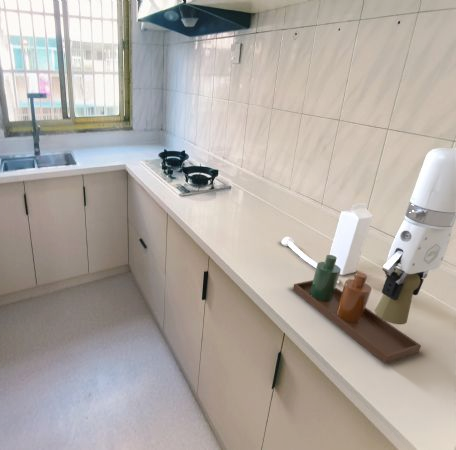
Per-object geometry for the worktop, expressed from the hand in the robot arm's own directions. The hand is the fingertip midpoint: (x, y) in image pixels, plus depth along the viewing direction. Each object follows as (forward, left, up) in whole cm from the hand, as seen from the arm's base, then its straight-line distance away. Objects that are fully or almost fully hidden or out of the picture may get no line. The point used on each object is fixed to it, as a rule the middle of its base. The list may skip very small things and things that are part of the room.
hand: (399, 293), depth 72 cm
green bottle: (0, -18, -13) cm, 22 cm away
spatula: (-12, -35, -14) cm, 39 cm away
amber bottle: (0, -9, -13) cm, 16 cm away
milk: (-18, -28, -14) cm, 36 cm away
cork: (0, 0, -6) cm, 6 cm away
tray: (0, -9, -13) cm, 16 cm away
